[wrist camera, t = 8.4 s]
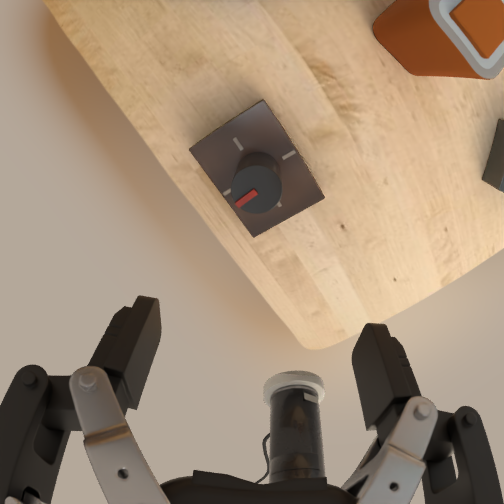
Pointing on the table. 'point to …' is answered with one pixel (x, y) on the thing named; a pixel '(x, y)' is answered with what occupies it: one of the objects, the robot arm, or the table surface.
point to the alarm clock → (445, 36)
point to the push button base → (496, 160)
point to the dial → (257, 183)
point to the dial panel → (249, 141)
